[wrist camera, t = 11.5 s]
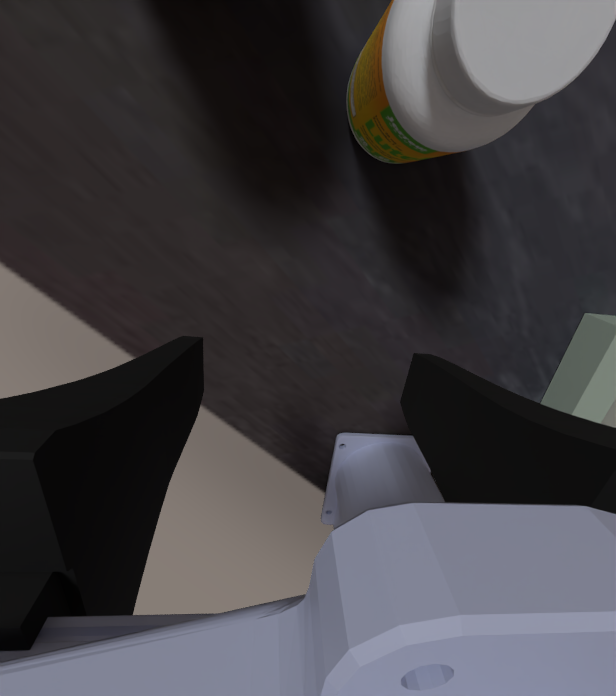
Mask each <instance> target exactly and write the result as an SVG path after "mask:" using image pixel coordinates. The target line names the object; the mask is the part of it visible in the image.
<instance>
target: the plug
mask: <svg viewBox="0 0 616 696" xmlns="http://www.w3.org/2000/svg"><path fill="white" fill-rule="evenodd" d="M601 424H604V425H607V426H611V427H615V428H616V399H615V400H614V402H613V404H612V405H611V407H610V409H609V410H608V412H607V414H606V415H605V417H604V419H603V420H602V422H601Z"/></svg>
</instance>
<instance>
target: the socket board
mask: <svg viewBox="0 0 616 696" xmlns="http://www.w3.org/2000/svg"><path fill="white" fill-rule="evenodd" d="M615 399H616V316H611V315H600V314H590V313H585V314H584V316H583V318H582V320H581V322H580V324H579V326H578V328H577V330H576V332H575V334H574V336H573V338H572V340H571V342H570V344H569V346H568V348H567V350H566V352H565V354H564V356H563V358H562V360H561V363H560V365H559V367H558V369H557V371H556V373H555V375H554V377H553V379H552V381H551V383H550V385H549V387H548V389H547V391H546V393H545V395H544V397H543V399H542V401H541V403H540V404H542V405H545V406H548V407H550V408H553V409H556V410H559V411H562V412H565V413H568V414H571V415H574V416H577V417H580V418H584V419H587V420H590V421H593V422H597V423H600V424H601V422H602V420H603V419H604V417H605V415H606V414H607V412H608V410H609V409H610V407H611V405H612V404H613V402H614V400H615Z"/></svg>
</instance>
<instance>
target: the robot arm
mask: <svg viewBox="0 0 616 696" xmlns="http://www.w3.org/2000/svg"><path fill="white" fill-rule="evenodd" d="M203 392H204V372H203V337H190V336H182V337H179V338H177V339H175V340H173V341H170V342H168V343H166V344H164V345H163V346H161V347H159V348H157V349H155V350H153V351H151V352H149V353H146V354H144V355H142V356H140V357H138V358H136V359H133V360H131V361H129V362H127V363H124V364H122V365H120V366H118V367H115V368H113V369H110V370H107V371H105V372H102V373H99V374H96V375H93V376H90V377H87V378H84V379H81V380H78V381H75V382H71V383H67V384H64V385H60V386H56V387H52V388H48V389H44V390H40V391H36V392H32V393H27V394H23V395H18V396H13V397H8V398H3V399H0V696H616V428H615V427H611V426H607V425H604V424H600V423H597V422H593V421H590V420H587V419H584V418H580V417H577V416H574V415H571V414H568V413H565V412H562V411H559V410H556V409H553V408H550V407H548V406H545V405H542V404H540V403H537V402H535V401H532V400H529V399H527V398H524V397H522V396H520V395H517V394H515V393H513V392H511V391H508V390H506V389H504V388H502V387H500V386H497V385H495V384H493V383H491V382H489V381H487V380H485V379H483V378H481V377H479V376H477V375H475V374H473V373H471V372H469V371H467V370H465V369H463V368H461V367H459V366H457V365H455V364H453V363H451V362H449V361H446V360H444V359H442V358H440V357H437V356H434V355H431V354H418V353H414V354H413V358H412V362H411V365H410V369H409V372H408V376H407V379H406V383H405V387H404V390H403V394H402V397H401V401H400V403H401V406H402V410H403V413H404V416H405V419H406V422H407V424H408V427H409V429H410V431H411V433H412V435H413V436H406V435H384V434H361V433H340V434H338V435H337V437H336V441H335V447H334V452H333V457H332V462H331V467H330V472H329V478H328V483H327V488H326V493H325V498H324V504H323V509H322V514H321V522H322V523H323V524H329V525H333V526H334V530H333V531H332V532H331V533H330V535H329V536H328V538H327V540H326V541H325V543H324V545H323V546H322V548H321V549H320V551H319V553H318V554H317V556H316V558H315V560H314V565H313V570H312V575H311V580H310V585H309V588H308V591H307V593H306V594H305V595H300V596H296V597H291V598H286V599H282V600H277V601H273V602H269V603H264V604H259V605H255V606H250V607H246V608H241V609H237V610H232V611H228V612H224V613H219V614H174V615H173V614H172V615H133V611H134V607H135V603H136V599H137V595H138V591H139V587H140V584H141V580H142V576H143V572H144V568H145V565H146V561H147V557H148V553H149V550H150V546H151V542H152V539H153V536H154V532H155V529H156V525H157V522H158V518H159V515H160V512H161V508H162V505H163V501H164V498H165V495H166V492H167V488H168V485H169V482H170V480H171V477H172V474H173V472H174V469H175V467H176V465H177V462H178V460H179V458H180V455H181V453H182V451H183V448H184V446H185V444H186V441H187V439H188V437H189V434H190V432H191V429H192V427H193V425H194V423H195V420H196V418H197V415H198V411H199V408H200V404H201V400H202V396H203ZM341 444H344V445H343V446H340V445H341ZM430 472H432V474H433V476H434V477H435V479H436V482H437V484H438V486H439V488H440V490H441V493H442V495H443V497H442V495H441V493H440V491H439V490H438V488H437V486H436V484H435V482H434V480H433V478H432V476H431V474H430ZM443 498H444V499H443ZM444 500H445V501H444Z"/></svg>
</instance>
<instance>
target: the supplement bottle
mask: <svg viewBox="0 0 616 696" xmlns="http://www.w3.org/2000/svg"><path fill="white" fill-rule="evenodd" d="M615 19H616V0H392V1H391V3H390V5H389V6H388V8H387V10H386V11H385V13H384V15H383V16H382V18H381V20H380V21H379V23H378V25H377V26H376V28H375V30H374V31H373V33H372V35H371V37H370V38H369V40H368V41H367V43H366V45H365V46H364V48H363V50H362V51H361V53H360V55H359V57H358V59H357V61H356V63H355V65H354V67H353V70H352V73H351V76H350V79H349V83H348V88H347V101H346V102H347V114H348V120H349V124H350V127H351V130H352V132H353V134H354V137H355V138H356V140H357V142H358V143H359V144H360V146H361V147H362V148H363V149H364V150H365V151H366V152H367V153H368V154H369V155H371V156H372V157H374V158H376V159H378V160H380V161H383V162H387V163H394V164H401V163H409V162H414V161H419V160H424V159H428V158H433V157H438V156H443V155H448V154H453V153H458V152H463V151H467V150H471V149H474V148H477V147H480V146H483V145H485V144H488V143H490V142H492V141H494V140H495V139H497V138H499V137H501V136H502V135H504V134H505V133H507V132H508V131H509V130H510V129H512V128H513V127H514V126H515V125H516V124H517V123H518V122H520V121H521V120H522V118H523V117H524V116H525V115H526V114H527V113H528V112H529V111H530V110H531V108H532V107H533V106H534V105H535V104H536V103H539V102H541V101H543V100H545V99H548V98H549V97H551V96H553V95H554V94H556V93H558V92H559V91H561V90H562V89H563V88H565V87H566V86H567V85H569V84H570V83H571V82H572V81H573V80H574V79H575V78H577V77H578V76H579V74H580V73H581V72H582V71H583V70H584V69H585V68H586V67H587V66H588V64H589V63H590V62H591V61H592V59H593V58H594V57H595V55H596V54H597V52H598V51H599V49H600V48H601V46H602V45H603V43H604V41H605V39H606V38H607V36H608V34H609V32H610V30H611V28H612V26H613V24H614V21H615Z"/></svg>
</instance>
